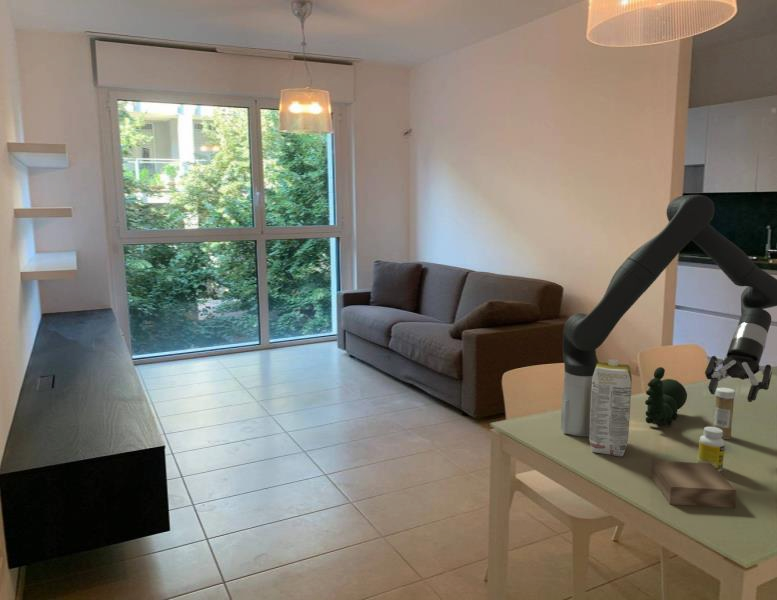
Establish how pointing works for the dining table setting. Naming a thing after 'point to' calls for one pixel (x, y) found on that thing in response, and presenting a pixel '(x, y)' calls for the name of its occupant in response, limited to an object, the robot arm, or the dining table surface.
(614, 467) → the dining table surface
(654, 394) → the toy figurine
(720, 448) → the supplement bottle
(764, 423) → the dining table surface
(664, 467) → the walnut plinth
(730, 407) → the sprinkles bottle
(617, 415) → the juice carton
